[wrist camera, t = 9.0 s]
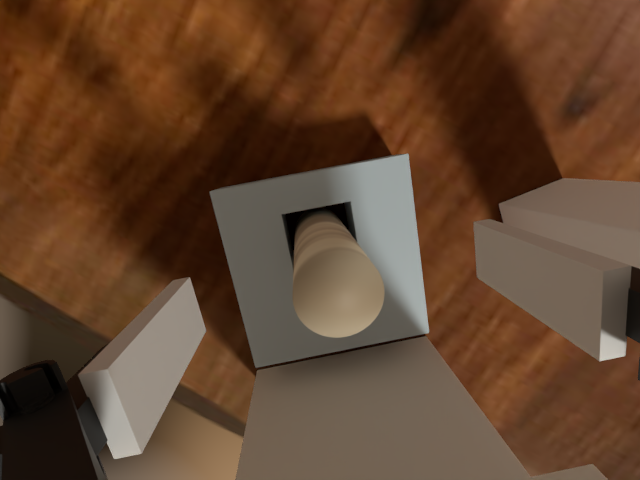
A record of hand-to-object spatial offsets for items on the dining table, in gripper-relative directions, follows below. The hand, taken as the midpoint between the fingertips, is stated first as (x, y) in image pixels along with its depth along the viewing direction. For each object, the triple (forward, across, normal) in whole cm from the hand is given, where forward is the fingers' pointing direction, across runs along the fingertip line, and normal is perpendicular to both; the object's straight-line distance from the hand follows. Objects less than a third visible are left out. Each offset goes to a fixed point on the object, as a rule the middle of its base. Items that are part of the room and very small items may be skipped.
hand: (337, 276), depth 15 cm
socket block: (+13, 0, -3) cm, 13 cm away
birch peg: (+13, 0, -1) cm, 13 cm away
